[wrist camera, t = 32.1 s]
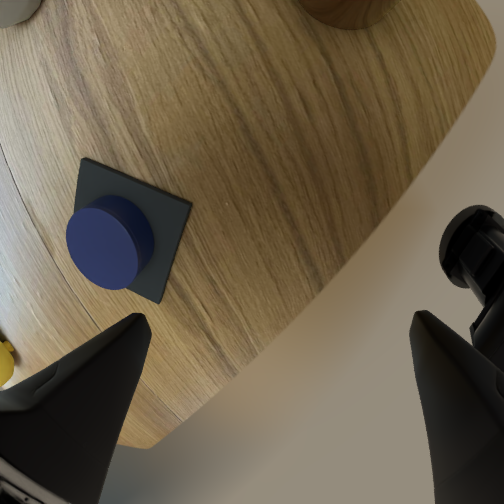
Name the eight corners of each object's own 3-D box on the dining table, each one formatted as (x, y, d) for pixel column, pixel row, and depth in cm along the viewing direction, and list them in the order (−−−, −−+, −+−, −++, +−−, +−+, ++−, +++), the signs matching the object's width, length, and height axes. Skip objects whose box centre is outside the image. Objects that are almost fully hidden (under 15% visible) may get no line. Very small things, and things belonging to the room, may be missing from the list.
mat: (192, 203, 20) (190, 206, 20) (161, 300, 25) (158, 304, 25) (85, 156, 20) (80, 158, 19) (73, 254, 24) (70, 257, 24)
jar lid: (82, 251, 23) (64, 267, 21) (89, 182, 20) (67, 194, 18) (146, 283, 24) (132, 303, 21) (162, 214, 20) (145, 229, 18)
